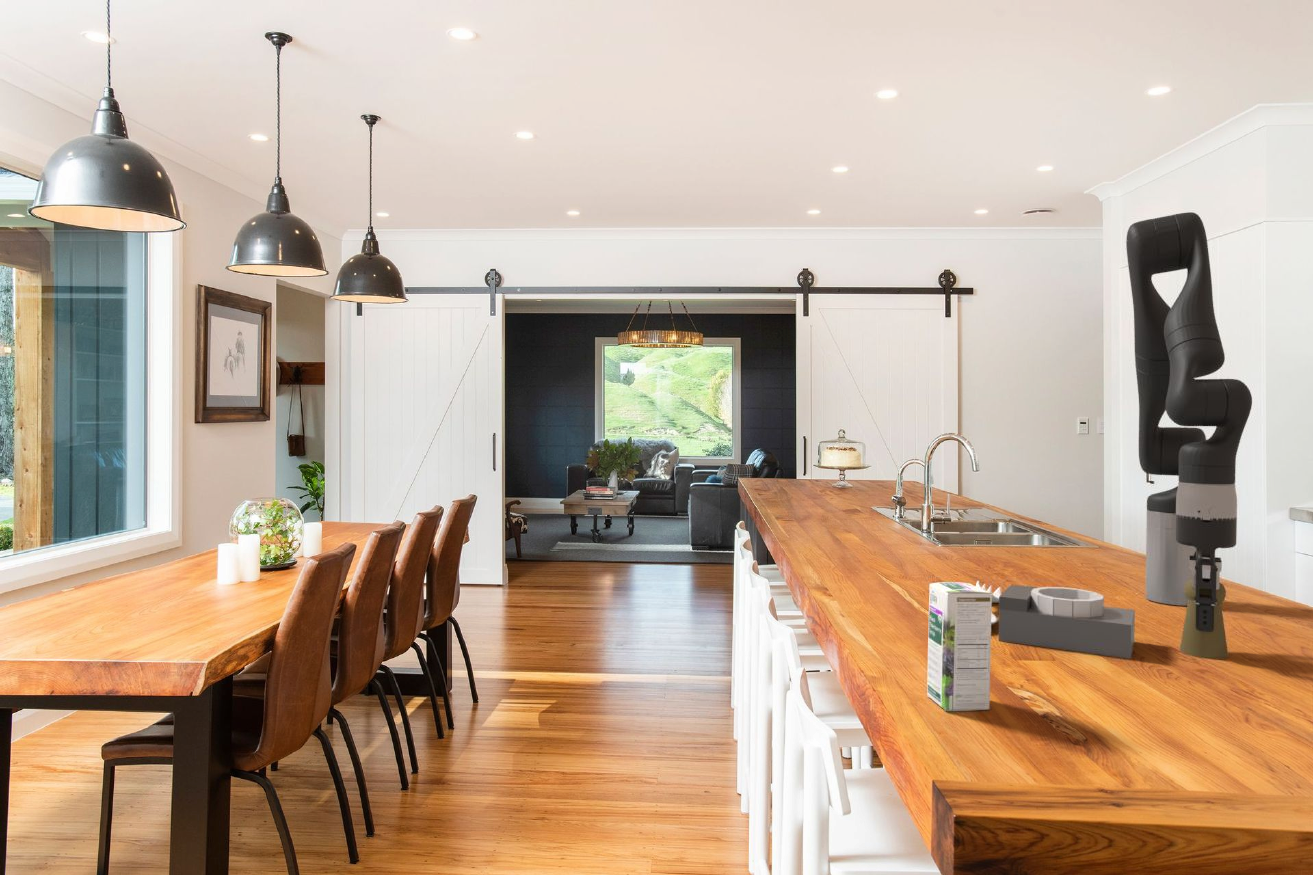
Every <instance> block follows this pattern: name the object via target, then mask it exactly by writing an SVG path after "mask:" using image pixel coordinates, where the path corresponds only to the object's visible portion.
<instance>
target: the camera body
mask: <svg viewBox="0 0 1313 875" xmlns="http://www.w3.org/2000/svg"><path fill="white" fill-rule="evenodd" d="M1104 603H1105V596H1104V595H1103V594H1100V593H1099V592H1095V591H1092V590H1086V589H1081V588H1075V587H1073V588H1072V587H1063V586H1062V587H1061V586H1043V587H1042V586H1041V587H1037V586H1030V585H1023V586H1022V585H1019V584H1010V585H1009V586H1008V587H1007V588H1006V589H1005V590H1004V591H1003V592H1001V595H1000V596H999V603H998V642H1005V643H1013V644H1019V645H1027V646H1035V647H1039V648H1040V647H1042V648H1048V649H1049V648H1050V649H1057V650H1062V651H1063V650H1064V651H1071V652H1077V653H1084V654H1092V655H1098V656H1099V655H1100V656H1106V657H1113V658H1120V659H1126V660H1127V659H1129V660H1131V659H1132V654H1133V649H1134V646H1135V645H1134V644H1135V626H1136V624H1135V622H1136V621H1135V620H1136V618H1135V617H1136V616H1135V615H1136V613H1135V612H1136V609H1129V608H1121V607H1111V606H1105V605H1104Z"/></svg>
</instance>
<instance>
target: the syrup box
mask: <svg viewBox="0 0 1313 875" xmlns="http://www.w3.org/2000/svg"><path fill="white" fill-rule="evenodd" d="M928 586H929V590H928V593H929V599H928V602H929V603H928V633H927V634H928V635H927V638H928V639H927V641H928V642H927V672H926V673H927V676H926V677H927V680H926V682H927V684H926V686H927V687H926V688H927V690H926V692H927V693H926V696H927V698H929V699H931V700H932V701H933V702H935V704H937V705H938V706H939V707H941V708H942V709H943V710H944V711H945V712H967V711H969V712H971V711H987V710H990V701H991V700H990V697H991V694H990V693H991V653H992V651H991V650H992V649H991V648H992V647H991V645H992V625H991V613H992V605H993V604H992V594H993V592H987V590H986V591H985V590H982V589H980V588H978V587H976V585H973V584H972V583H968V582H959V581H957V582H956V581H944V582H943V581H941V582H934V583H932V582H931V583H929V585H928ZM991 593H992V594H991Z"/></svg>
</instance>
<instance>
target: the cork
mask: <svg viewBox="0 0 1313 875" xmlns="http://www.w3.org/2000/svg"><path fill="white" fill-rule="evenodd" d="M1184 594H1185V596H1186V598H1187V599H1188V605H1187V606H1186V612H1185V618H1184V623H1183V628H1182V634H1181V641H1180V646H1179V651H1180V652H1181V653H1183V654H1185V655H1189V656H1191V657H1196V658H1201V659H1211V660H1222V659H1223V660H1225V659H1228V657H1229V650H1228V645H1227V637H1226V630H1225V623H1224V622H1225V621H1224V615H1223V608H1222V603H1223V602H1224V601H1225V599H1226V596H1227V590H1226V587H1225V586H1224V584H1223V583H1221V582H1220V587H1219V590H1218V591H1216V599H1217V602H1216V605H1215V607H1214V630H1213V631H1212V632H1205V631H1198V630H1197V629H1196V605H1195V602H1194V597H1195V590H1194V589H1193V588H1192V587H1191V580H1188V581H1187V582H1186V584H1185V586H1184ZM1199 595H1208V596H1211V591H1210V590H1204V589H1200V593H1199Z"/></svg>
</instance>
